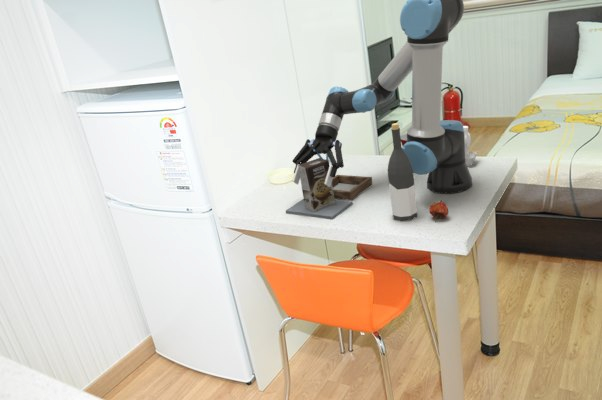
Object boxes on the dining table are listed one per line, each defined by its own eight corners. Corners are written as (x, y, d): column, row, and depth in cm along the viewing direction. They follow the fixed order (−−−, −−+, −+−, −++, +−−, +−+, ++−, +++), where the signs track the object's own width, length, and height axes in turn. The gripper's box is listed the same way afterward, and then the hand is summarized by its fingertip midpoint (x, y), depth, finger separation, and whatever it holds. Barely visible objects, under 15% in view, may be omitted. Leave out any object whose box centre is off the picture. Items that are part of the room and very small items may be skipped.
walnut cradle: (372, 184, 193) (371, 177, 192) (351, 200, 182) (350, 192, 181) (338, 181, 202) (337, 174, 201) (316, 196, 191) (315, 189, 190)
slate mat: (353, 204, 178) (352, 201, 178) (332, 219, 169) (332, 216, 169) (307, 199, 191) (306, 196, 190) (286, 213, 181) (285, 210, 181)
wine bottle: (422, 216, 159) (413, 123, 148) (399, 223, 157) (388, 129, 147) (410, 208, 166) (401, 118, 156) (387, 215, 165) (376, 124, 154)
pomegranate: (447, 227, 153) (455, 205, 156) (438, 218, 150) (446, 196, 153) (430, 225, 158) (439, 204, 160) (422, 216, 154) (430, 195, 157)
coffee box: (314, 212, 175) (306, 168, 169) (304, 208, 180) (296, 164, 174) (336, 203, 179) (329, 160, 173) (325, 199, 184) (318, 157, 178)
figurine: (478, 160, 197) (476, 122, 192) (473, 168, 190) (470, 129, 185) (459, 160, 201) (457, 123, 196) (453, 168, 194) (450, 130, 189)
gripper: (363, 134, 175) (346, 191, 170) (305, 133, 190) (288, 185, 185) (353, 123, 170) (335, 182, 164) (294, 123, 185) (276, 177, 179)
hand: (310, 184), depth 175 cm, fingers open, 13 cm apart
